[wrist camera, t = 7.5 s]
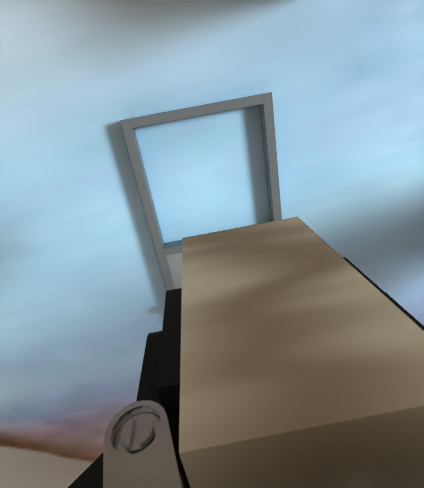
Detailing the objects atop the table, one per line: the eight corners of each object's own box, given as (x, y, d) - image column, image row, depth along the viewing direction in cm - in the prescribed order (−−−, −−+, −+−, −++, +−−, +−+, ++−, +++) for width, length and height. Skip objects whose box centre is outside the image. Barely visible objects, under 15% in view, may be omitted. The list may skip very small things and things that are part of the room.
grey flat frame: (267, 93, 28) (274, 91, 26) (290, 361, 41) (296, 376, 39) (123, 120, 28) (117, 120, 25) (193, 380, 41) (193, 396, 39)
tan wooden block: (297, 216, 12) (491, 392, 4) (302, 311, 13) (444, 548, 6) (182, 238, 12) (179, 453, 4) (203, 330, 13) (225, 592, 6)
